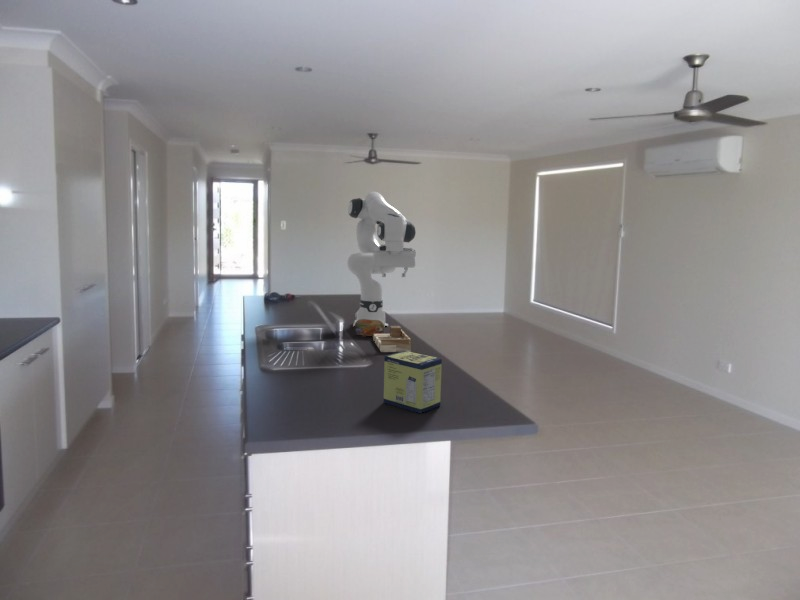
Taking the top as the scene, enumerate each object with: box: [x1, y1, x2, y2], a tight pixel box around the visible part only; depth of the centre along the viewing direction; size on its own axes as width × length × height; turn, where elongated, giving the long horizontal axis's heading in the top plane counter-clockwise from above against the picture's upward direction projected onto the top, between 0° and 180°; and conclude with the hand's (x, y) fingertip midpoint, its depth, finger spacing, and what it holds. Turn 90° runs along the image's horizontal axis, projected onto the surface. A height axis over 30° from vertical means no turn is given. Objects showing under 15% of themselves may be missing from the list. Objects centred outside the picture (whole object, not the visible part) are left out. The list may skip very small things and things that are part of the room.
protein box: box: [383, 351, 443, 414], centre depth 185 cm, size 10×16×16 cm
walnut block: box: [389, 325, 402, 337], centre depth 273 cm, size 4×4×4 cm
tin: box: [353, 319, 386, 338], centre depth 285 cm, size 15×3×8 cm, turn 73°
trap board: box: [372, 328, 412, 353], centre depth 266 cm, size 24×13×6 cm, turn 11°
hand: (393, 277), depth 277 cm, fingers open, 8 cm apart
